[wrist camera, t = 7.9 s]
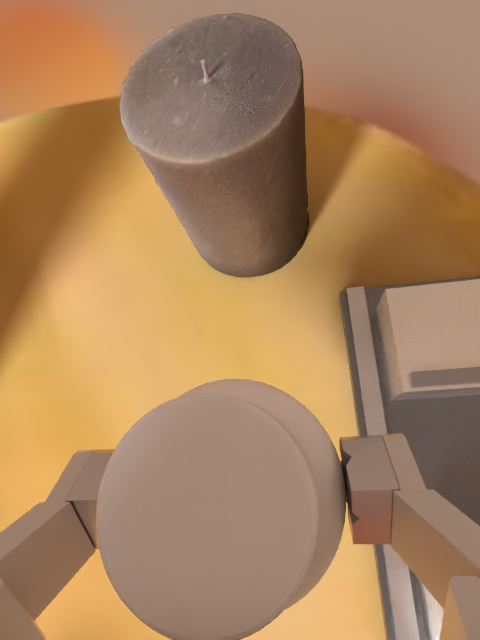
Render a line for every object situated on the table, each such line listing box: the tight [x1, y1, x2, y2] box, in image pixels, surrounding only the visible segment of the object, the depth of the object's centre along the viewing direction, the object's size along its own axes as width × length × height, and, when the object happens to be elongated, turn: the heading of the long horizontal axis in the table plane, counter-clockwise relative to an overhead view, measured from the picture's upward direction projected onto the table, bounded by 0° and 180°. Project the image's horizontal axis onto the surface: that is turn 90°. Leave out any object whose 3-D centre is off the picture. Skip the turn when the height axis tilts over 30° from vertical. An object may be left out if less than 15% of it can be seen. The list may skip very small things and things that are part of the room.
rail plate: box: [339, 277, 480, 640], centre depth 22 cm, size 24×11×6 cm, turn 3°
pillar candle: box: [119, 13, 309, 277], centre depth 25 cm, size 10×10×15 cm
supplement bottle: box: [96, 379, 346, 640], centre depth 11 cm, size 5×5×10 cm
